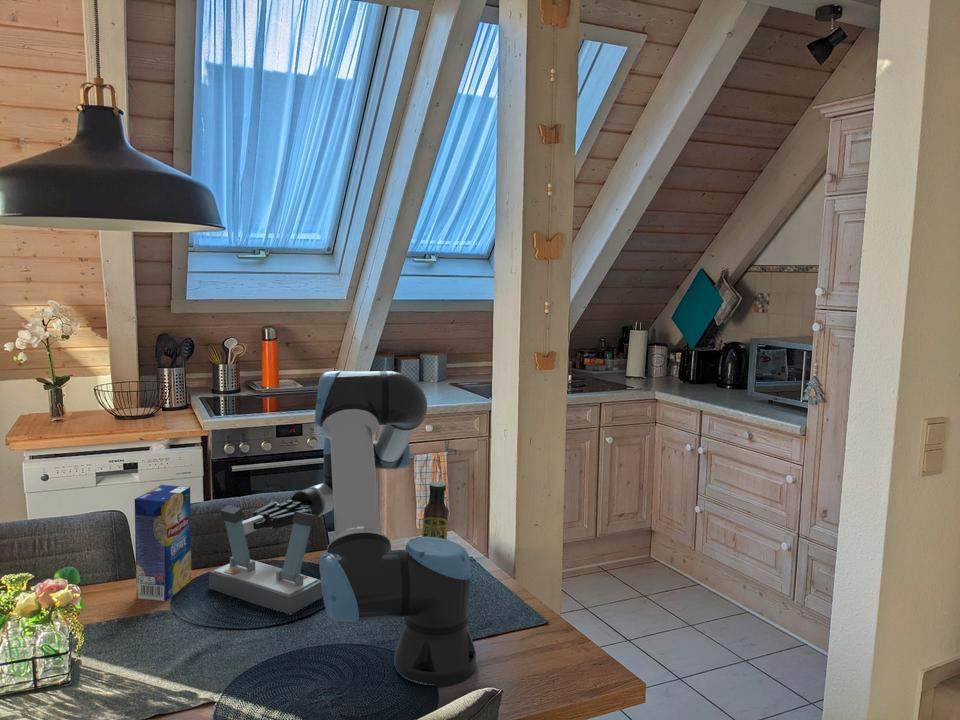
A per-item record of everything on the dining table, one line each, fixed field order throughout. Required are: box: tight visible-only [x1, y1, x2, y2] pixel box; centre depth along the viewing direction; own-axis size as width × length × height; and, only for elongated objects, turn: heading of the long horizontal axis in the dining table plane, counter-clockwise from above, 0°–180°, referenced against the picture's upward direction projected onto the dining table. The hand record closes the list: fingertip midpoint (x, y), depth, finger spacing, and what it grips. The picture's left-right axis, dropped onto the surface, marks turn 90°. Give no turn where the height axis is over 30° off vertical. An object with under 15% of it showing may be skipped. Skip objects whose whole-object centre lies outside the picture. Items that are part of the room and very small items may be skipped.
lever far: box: [219, 504, 252, 568], centre depth 169 cm, size 4×2×14 cm, turn 61°
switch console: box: [208, 556, 323, 616], centre depth 169 cm, size 24×10×6 cm, turn 61°
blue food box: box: [133, 484, 192, 602], centre depth 168 cm, size 7×11×22 cm, turn 173°
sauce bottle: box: [421, 481, 449, 540], centre depth 190 cm, size 6×6×20 cm
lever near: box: [281, 511, 316, 582], centre depth 166 cm, size 4×2×14 cm, turn 61°
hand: (239, 529), depth 170 cm, fingers closed
